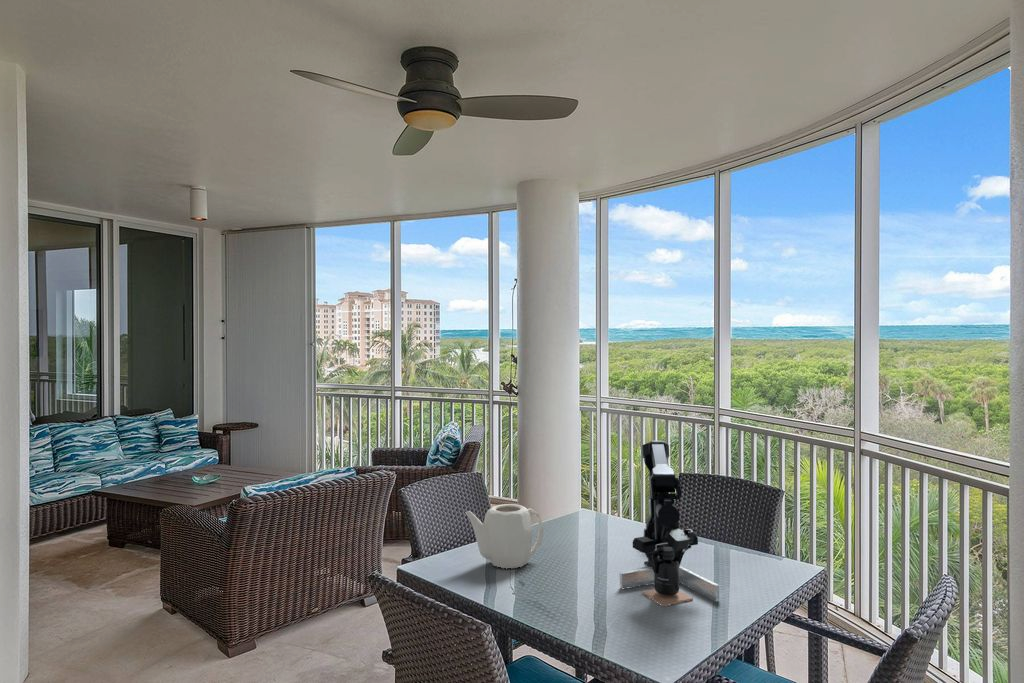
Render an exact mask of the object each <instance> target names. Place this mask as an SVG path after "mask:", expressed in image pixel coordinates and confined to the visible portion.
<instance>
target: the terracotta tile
mask: <svg viewBox="0 0 1024 683" xmlns="http://www.w3.org/2000/svg"><path fill="white" fill-rule="evenodd" d="M641 593H643V594H642V595H644V594H645V595H646V596H645V595H644V596H645V597H647V596H648V597H650V598H651V599H650V598H649V599H650V600H652V599H653V600H654V601H653V600H652V601H653V602H655V601H656V602H655V603H657V602H658V603H659V604H658V603H657V604H658V605H660V604H661V605H662V606H661V605H660V606H661V607H667V606H666V605H668V606H670V605H669V604H673V605H676V604H675V603H678V604H681V603H680V602H682V603H685V602H684V601H687V602H691V601H690V600H692V601H693V597H691V596H690V595H687V594H686V593H684V592H682V591H681V590H679V592H678V593H677V594H675V595H662V594H659V593H657V592H656V591H655V588H654V589H649V590H643V591H641ZM648 597H647V598H648Z"/></svg>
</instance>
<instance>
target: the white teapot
mask: <svg viewBox="0 0 1024 683" xmlns="http://www.w3.org/2000/svg"><path fill="white" fill-rule="evenodd" d="M464 513H465V514H466V516H467V518H468V519H469V521H470V524H471V526H472V529H473V531H474V536H475V539H476V543H477V547H478V551H479V554H480V556H482V558H484V559H487V560H489V561H490V562H491V564H492V566H493V567H494V566H497V567H496V568H498V567H501V569H504V568H506V569H505V570H508V569H507V568H511V569H519V568H518V567H520V568H522V567H523V566H525V565H526V564H528V563H529V559H530V557H531V556H532V555H534V554H535V553H536V551H537V550H538V548H540V546H541V544H542V539H543V536H544V526H543V523H542V518H541V516H540V514H539V513H538V512H537V511H536V510H534V509H533V508H532V507H531V508H530V507H529V508H527V507H525V506H524V505H521V504H515V503H504V504H498V505H494V506H492V507H491V508H490V509H487V511H486V513H485V516H484V520H483V521H484V522H482V521H481V520H480V519H479V517H477V516H476V515H475V513H473V512H472V511H471V510H468V511H465V512H464ZM532 515H534V516H535V517H536V519H537V522H538V534H537V537H536V540H535V541H536V542H535V543H534V544H533V546H532V543H533V533H534V529H533V524H532V518H531V516H532Z"/></svg>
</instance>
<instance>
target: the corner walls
mask: <svg viewBox="0 0 1024 683" xmlns="http://www.w3.org/2000/svg"><path fill="white" fill-rule="evenodd" d="M680 582H681V583H683V584H685V585H687V586H689V587H690V588H689V587H688V588H689V589H691V588H692V589H691V590H693V589H694V590H695V591H694V590H693V591H694V592H696V591H697V592H696V593H698V594H700V595H702V596H704V597H706V598H707V599H710V600H711V601H714V603H719V602H720V584H718V583H715V582H714V581H712V580H710V579H708V578H705V576H701V575H700V574H698V573H695V572H694V571H691V570H690V569H688V568H687V567H686V568H685V567H684V566H681V565H680V566H679V583H680ZM652 583H654V571H653V569H652V567H650V566H649V567H646V568H641V569H640V568H639V569H634V570H628V571H622V572H619V589H620V588H627V587H633V586H639V585H644V586H647V585H646V584H649V585H653V584H652ZM681 583H680V584H681ZM683 584H682V585H683ZM685 585H684V586H685ZM687 586H686V587H687ZM639 587H640V586H639ZM633 588H634V587H633Z"/></svg>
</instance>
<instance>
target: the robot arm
mask: <svg viewBox="0 0 1024 683" xmlns="http://www.w3.org/2000/svg"><path fill="white" fill-rule="evenodd" d="M641 458H642V459H643V463H644V464H645V466H646V468H647V469H648V474H649V475H648V478H649V479H648V481H649V483H648V484H649V500H650V516H648V518H647V519H646V521H645V528H643V536H639V537H634V538H633V540H632V548H633V549H635V550H637V551H638V552H641V553H643V554H644V555H645V556H646V558H647V561H644V562H643V563H644V564H645V565H646V566H648V567H649V568H650V567H652V569H653V571H654V573H655V574H657V573H658V555H659V553H660V552H659V551H658V548H659V547H663V546H665V547H671V548H672V549H673V550H675V557H674V558H676V559H677V560H678V562H679V566H681V564H682V560H683V557H684V556H685V552H686V551H688V550H689V549H691V548H692V546H696V545H699V537H698V535H697V534H696V533H694V530H692V528H688V529H681V528H680V524H679V522H680V517H681V516H680V515H681V514H680V512H679V510H678V508H677V506H676V504H675V502H676V501H677V500H678V501H680V500H681V496H682V488H681V487H682V486H681V482H680V480H679V476H677V475H676V473H675V469H673V468H672V467H670V466H669V463H668V459H669V458H670V445H669V444H668V443H666V441H664V440H650V441H648V443H645V444H642V446H641ZM675 500H676V501H675Z"/></svg>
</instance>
